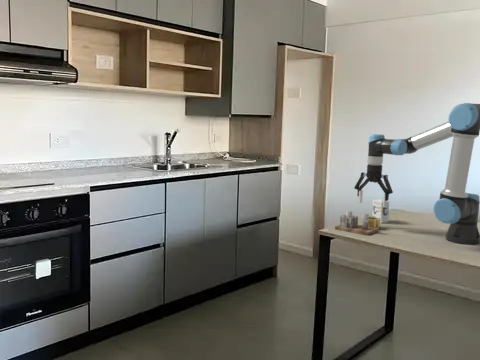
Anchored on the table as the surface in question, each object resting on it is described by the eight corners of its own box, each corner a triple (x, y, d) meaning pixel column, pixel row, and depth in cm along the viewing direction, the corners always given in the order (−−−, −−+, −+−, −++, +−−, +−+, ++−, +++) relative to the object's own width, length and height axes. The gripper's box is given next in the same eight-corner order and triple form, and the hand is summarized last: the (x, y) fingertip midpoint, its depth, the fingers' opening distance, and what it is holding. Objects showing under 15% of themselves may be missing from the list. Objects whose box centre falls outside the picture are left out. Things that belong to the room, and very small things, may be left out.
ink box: (388, 222, 273) (389, 201, 272) (380, 223, 272) (382, 202, 270) (379, 219, 281) (380, 198, 280) (371, 220, 279) (372, 199, 278)
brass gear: (381, 227, 261) (382, 218, 260) (375, 230, 255) (375, 220, 254) (367, 225, 266) (368, 216, 265) (361, 227, 260) (361, 218, 259)
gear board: (378, 231, 253) (379, 213, 252) (367, 235, 244) (368, 217, 243) (346, 225, 264) (347, 208, 263) (335, 229, 255) (335, 212, 254)
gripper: (401, 166, 251) (398, 207, 254) (356, 161, 267) (353, 200, 270) (395, 167, 245) (392, 209, 248) (349, 162, 261) (347, 202, 264)
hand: (372, 204), depth 259 cm, fingers open, 13 cm apart
